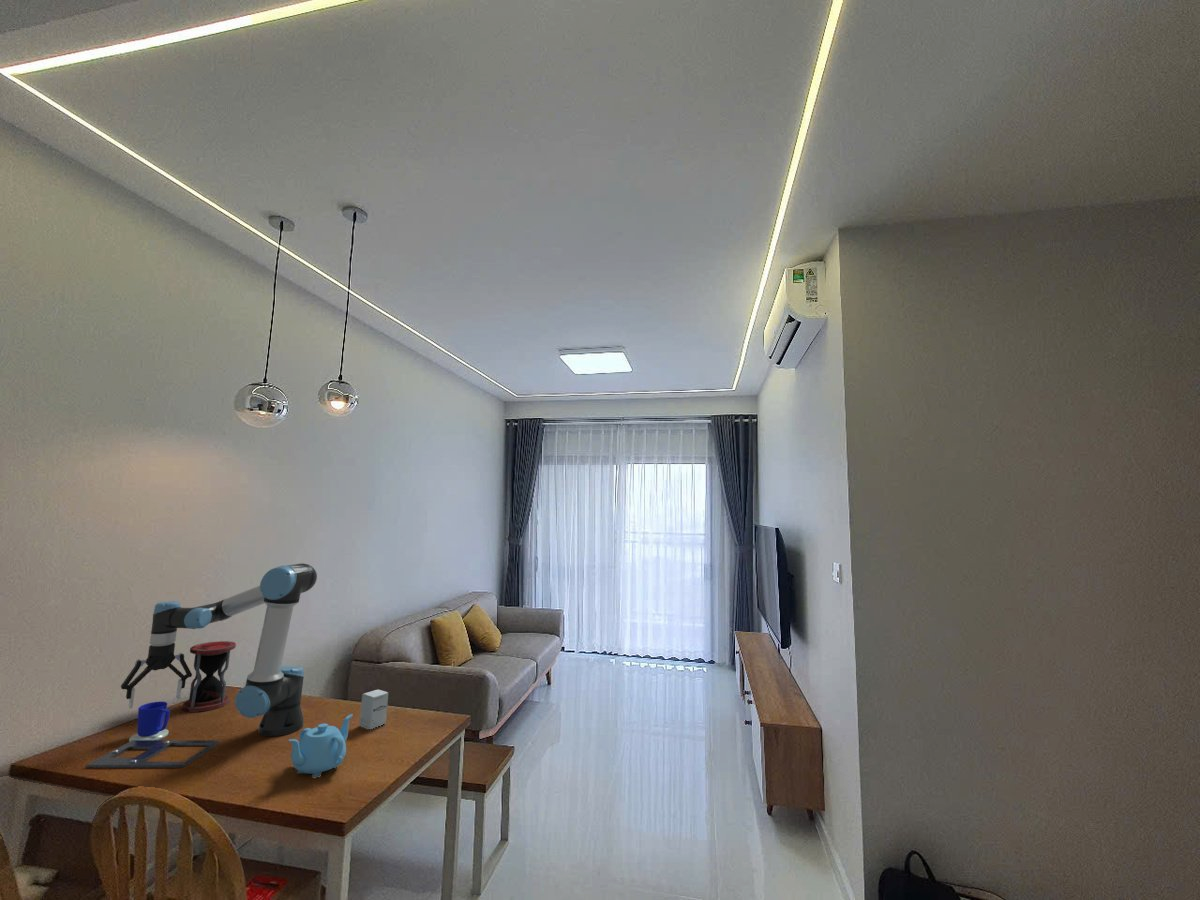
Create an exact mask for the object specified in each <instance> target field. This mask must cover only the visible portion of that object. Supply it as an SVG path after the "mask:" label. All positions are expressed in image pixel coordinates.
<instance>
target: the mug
mask: <svg viewBox="0 0 1200 900" xmlns="http://www.w3.org/2000/svg"><path fill="white" fill-rule="evenodd" d="M167 707H168V702H167V701H153V702H147V703H145V704H142V705H140V706H139V707H138V709H137V710H138V712H137V729H136V731H137V733H138V735H139V736H150V735H154V734H156V733H158V732H159V731H163V730H164V729H166V728H167V726H168V723H169V719H170V715H171V710H170V709H168V708H167ZM137 733H136V734H137Z"/></svg>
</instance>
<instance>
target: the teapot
mask: <svg viewBox="0 0 1200 900" xmlns="http://www.w3.org/2000/svg"><path fill="white" fill-rule="evenodd" d="M353 715H354V714H353V713H350V714H348V715H347V716H346V717H345V718H344V720H343V722H342V724H341V727H340V729H339V728H338V727H336V726H335V725H329V724H328V723H321V724H320V723H319V724H318V725H317V726H316V727H314V728H310V727H305V728H304V729H302V730H301V731H300V733H299V740H298V739H294V738H292V739H288V742H290V743H291V746H292V747H291V749H292V750H291V755H290V758H291V764H292V766H293V768H295V770H297V771H296V774H298V773H302V774H311V777H312V776H313V777H318V776H320V775H321V774H322V772H326V771H329V770H331V769H332V768H335V767H337V766H338V765H339V766H340V765H341V764H342V763H344V762H343V761H344V758H345V756H346V754H347V745H346V742H347V739H348V736H349V725H350V721H351V719H352V717H353ZM335 769H336V768H335ZM332 770H333V769H332Z"/></svg>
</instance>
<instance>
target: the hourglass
mask: <svg viewBox="0 0 1200 900" xmlns="http://www.w3.org/2000/svg"><path fill="white" fill-rule="evenodd" d="M236 645H237V644H236V642H234V641H229V640H224V641H223V640H222V641H221V640H220V641H211V642H210V641H208V642H204V643H202V642H201V643H198V644H195V645H193V646H191V647H190V650H189V652H190V654H193V655H194V659H193V670H195V676H194V678H193V679H192V681H191V682H190V691H189V698H188V700H186V701H185V702H183V703H182V706H181V707H182V708H181V709H182V711H185V712H189V713H200V712H206V711H211V710H215V709H220V708H221V707H224V706H226V705H228V703H229V702H230V697H229V696H228V695H226V688H227V687H226V686H227V683H226V680H225V672H226V671H227V670H228V668H229V663H230V655H231V651H232V650H234V649H236ZM224 665H225V666H224ZM200 671H201V672H202V673H203V674H205V677H203V678H202V674H201V672H200ZM216 672H217V676H218V677H219V678H217V677H216V676H215V675H214V674H215V673H216Z"/></svg>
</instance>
